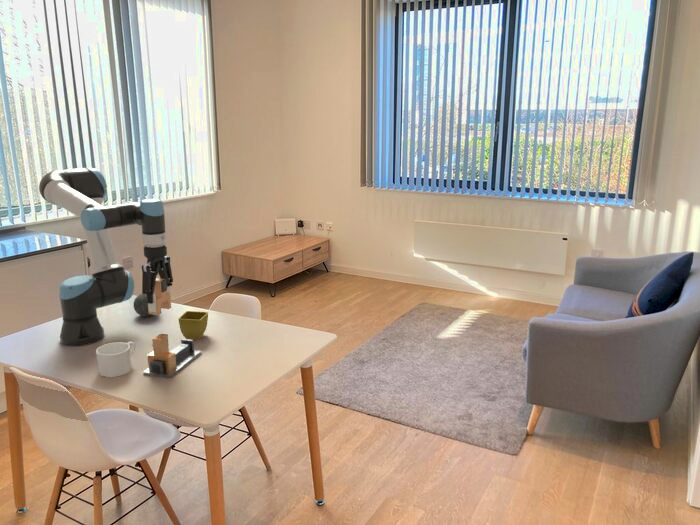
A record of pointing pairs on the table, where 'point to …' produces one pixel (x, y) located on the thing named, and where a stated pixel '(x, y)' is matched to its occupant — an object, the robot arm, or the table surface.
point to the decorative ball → (141, 305)
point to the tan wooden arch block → (161, 296)
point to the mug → (114, 358)
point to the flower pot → (193, 324)
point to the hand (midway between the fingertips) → (159, 307)
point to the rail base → (169, 357)
